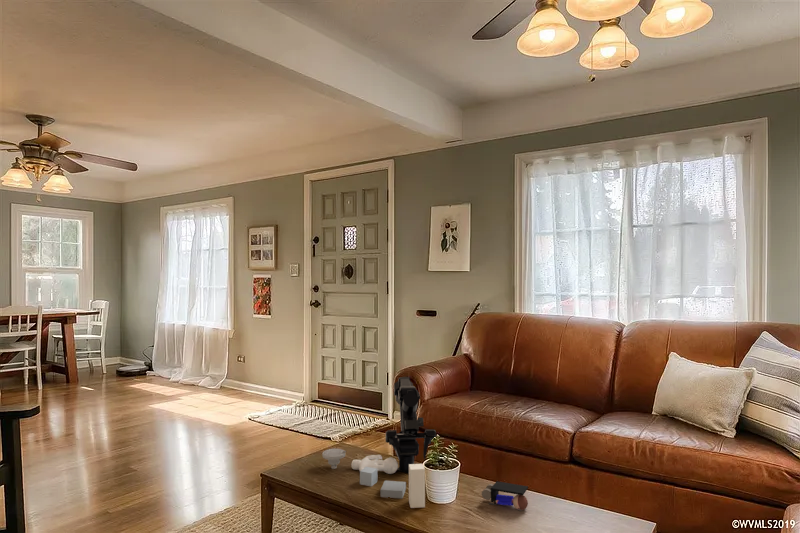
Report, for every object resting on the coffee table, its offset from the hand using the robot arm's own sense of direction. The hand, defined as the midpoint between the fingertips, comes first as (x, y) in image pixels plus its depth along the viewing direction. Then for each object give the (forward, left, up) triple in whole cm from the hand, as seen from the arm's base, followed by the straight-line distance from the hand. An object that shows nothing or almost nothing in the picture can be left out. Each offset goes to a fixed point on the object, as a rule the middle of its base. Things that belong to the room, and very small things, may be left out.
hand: (412, 459), depth 182 cm
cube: (+1, -19, -13) cm, 23 cm away
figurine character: (-10, +32, -13) cm, 36 cm away
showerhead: (-3, -40, -13) cm, 42 cm away
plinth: (+3, -6, -13) cm, 15 cm away
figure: (-9, -24, -13) cm, 29 cm away
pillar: (+6, +6, -13) cm, 15 cm away
